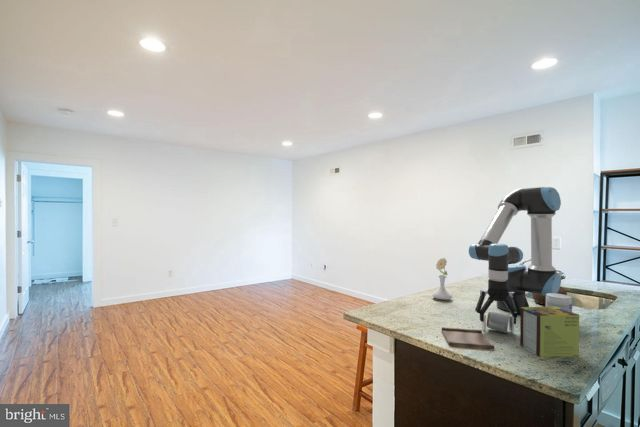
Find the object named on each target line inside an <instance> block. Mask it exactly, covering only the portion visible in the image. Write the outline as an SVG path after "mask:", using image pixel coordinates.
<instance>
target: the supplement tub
mask: <svg viewBox="0 0 640 427" xmlns="http://www.w3.org/2000/svg"><path fill="white" fill-rule="evenodd" d="M572 298H573V297H572V296H570V295H568V294H567V295H564V294H557V293H547V294H546V305H545V307H551V306H557V307H559V308H562V309H565V310H567V311H570V312H573V300H572Z"/></svg>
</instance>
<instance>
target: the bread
mask: <svg viewBox="0 0 640 427" xmlns="http://www.w3.org/2000/svg"><path fill="white" fill-rule="evenodd" d="M557 294H564V295H568V291H567V290H566V289H565V288H564V287H563V286H561V285H560V288H559V290H558V292H557ZM531 295H532V300H534V301H535V302H536V303H538V304H540V305H543V306H546V295H544V296H543V295H540V294H535V293H531Z"/></svg>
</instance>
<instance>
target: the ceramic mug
mask: <svg viewBox="0 0 640 427" xmlns="http://www.w3.org/2000/svg"><path fill="white" fill-rule="evenodd" d="M509 315H510V314H504V313H501V312H500V313H499V312H495V311H489V312H488V313H487V316H486V327H487V328H489V329H491V330H493V331H497V332H501V333H504V334H507V333H508V327H509Z"/></svg>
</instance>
